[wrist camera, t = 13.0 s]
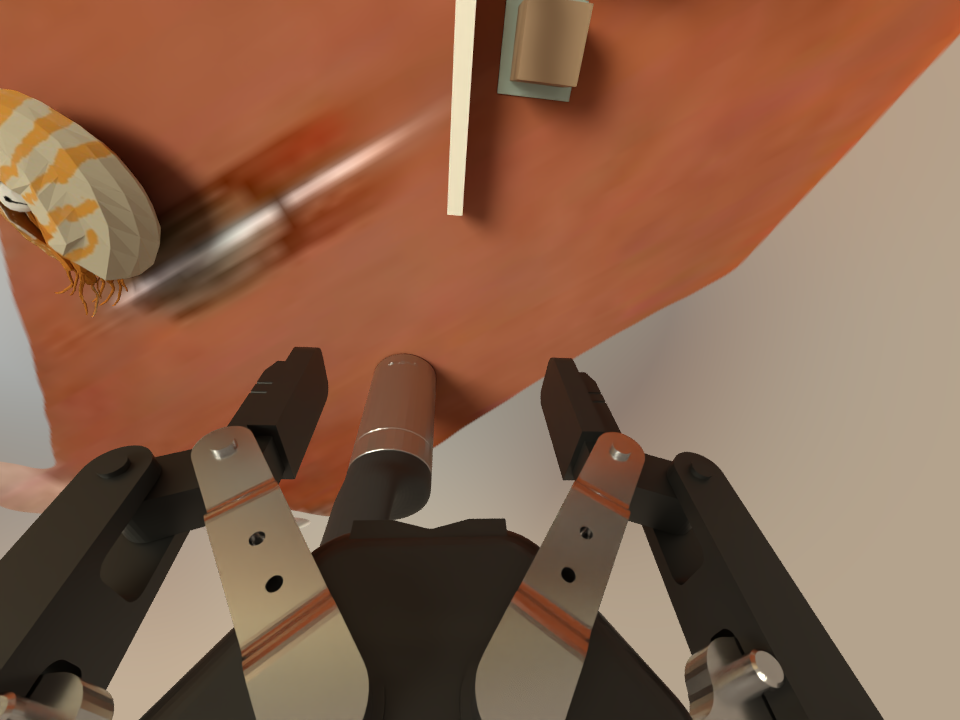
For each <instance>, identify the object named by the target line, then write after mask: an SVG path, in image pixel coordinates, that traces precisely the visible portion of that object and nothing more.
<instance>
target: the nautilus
mask: <svg viewBox="0 0 960 720" xmlns="http://www.w3.org/2000/svg"><path fill="white" fill-rule="evenodd" d="M0 214H1V215H2V216H3V217H4V218H5V219H6V220H7V221H9V222H10V223H11V224H12V225H13V226H14V227H15V228H16V229H17V230H18V231H19V232H20V233H21V234H22V235H23V236H24V238H25V239H26V240H28V241H30V242H31V243H33V244H35V245H36V246H38V247H39V248H40V249H42V250H43V251H44V252H45V253H47V254H48V255H49V256H51V257H53V258H55V259H57V260H58V261H60V263H61V264H62V266H63V267H64V269H65V270H66V272H67V275H68V278H69V280H70V281H71V285H70V286H68V287H67V288H66V289H64V290H63V291H61V292H55V293H56V294H60V293H64V292H65V291H67V290H69V289H70V288H72V287H73V285H74V289H73V291H72V293H71V294H70V295H73V293H74V292H75V291H76V286H77V282H78V279H79V278H80V285H79V293H80V299H81V300H82V302H83V304H84V306H85V310H86V315H87V314H88V310H87V304H86V302H85V301H84V299H83V287H84V284H85V283H86V284H88V285H91V288H92V290H93V291H94V292H95V293H96V299H95V300H94V301H96V303H95V311H94V313H93V316H91V317H94V316H95V314H96V312H97V306H98V302H99V297H101V294H102V291H103V289H104V286H105V281H107V282H108V283H110V285H111V287H112V291H111V293H110V295H109V296H108V298H107V299H106V301H104V302H103V303H102V304H100V305H103V304H105V303H106V302H107V301H108V300H109V299H110V298H111V296H112V295H113V293H114V291H115V287H114V284H113V281H114V280H115V279H117V281H118V284H119V292H118V299H117V301H116V302H115V304H114V305H116V304H117V303H118V301H119V300H120V296H121V291H122V286H123V285H124V286H123V287H125V289H126V291H127V292H128V289H127V287H126V286H125V284H124V281H123V279H125V278H131V277H134V276H137V275H140V274H142V273H143V272H144V271H145V270H147V269H148V268H149V267H151V266H152V265H153V264H154V262H155V258H156V255H157V252H158V249H159V245H160V232H161V227H160V224H159V221H158V219H157V216H156V213H155V210H154V207H153V205H152V203H151V201H150V199H149V197H148V196H147V194H146V192H145V190H144V188H143V187H142V185H141V184H140V183H139V181H138V180H137V179H136V177H135V176H134V175H133V174H132V172H131V171H130V170H129V169H128V168H127V166H126V165H125V164H124V163H123V162H122V160H121V159H120V158H119V157H118V156H117V155H116V154H115V153H114V152H113V151H112V150H111V149H110V148H108V147H107V146H106V145H105V144H104V143H103V142H101V141H100V140H99V139H97V138H96V137H94V136H93V135H91V134H90V133H88V132H87V131H86V130H85V129H83V128H82V127H81V126H80V125H78V124H76V123H75V122H73V121H72V120H70V119H68V118H67V117H65V116H63V115H62V114H60V113H59V112H57V111H55V110H54V109H52V108H50V107H49V106H47V105H45V104H44V103H42V102H40V101H38V100H36V99H34V98H31V97H29V96H27V95H24V94H22V93H20V92H17V91H15V90H8V89H1V88H0ZM75 269H76V270H75ZM70 271H74V272H75V273H76V279H75V283H74V281H73V279H72V277H71V273H70ZM78 274H79V275H78ZM96 276H97V277H99V278H98V280H97V278H96ZM99 279H100V280H101V281H102V287H101V289H100V291H99V289H98V282H99ZM119 279H120V280H119ZM96 282H97V290H98V292H99V294H98V292H97V291H96V289H95V287H94V284H95V283H96ZM120 282H121V283H120ZM121 284H122V285H121ZM101 298H102V297H101ZM94 301H92V302H94ZM114 305H112V306H114Z"/></svg>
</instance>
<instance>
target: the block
mask: <svg viewBox="0 0 960 720" xmlns="http://www.w3.org/2000/svg"><path fill="white" fill-rule="evenodd" d="M592 9H593V4H592V3H586V2H580V1H573V0H523V1H522V3H521V4H520V5H519V6H518V14H517V23H516V31H515V40H514V49H513V57H512V66H511V74H510V81H515V82H523V83H530V84H538V85H546V86H554V87H577V82H578V77H579V72H580V67H581V62H582V58H583V53H584V48H585V43H586V38H587V33H588V28H589V23H590V19H591V14H592Z"/></svg>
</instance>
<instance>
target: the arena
mask: <svg viewBox="0 0 960 720" xmlns="http://www.w3.org/2000/svg"><path fill="white" fill-rule="evenodd" d="M522 1H523V0H506V10H505V20H504V30H503V40H502V49H501V59H500V69H499V79H498V89H497V93H500V94H508V95H517V96H525V97H533V98H541V99H549V100H557V101H566V102H569V98H570V93H571V88H572V87H554V86H546V85H538V84H530V83H523V82H515V81H510V74H511V66H512V57H513V49H514V40H515V31H516V23H517V14H518V6H519V5H520V4H521V3H522ZM573 1H580V2H586V3H588V2H589V1H585V0H573ZM475 11H476V0H456V10H455V35H454V59H453V84H452V109H451V133H450V158H449V183H448V211H447V215H459V216H462V213H463V197H464V182H465V166H466V151H467V135H468V120H469V104H470V89H471V73H472V58H473V42H474V27H475Z"/></svg>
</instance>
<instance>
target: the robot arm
mask: <svg viewBox="0 0 960 720" xmlns="http://www.w3.org/2000/svg"><path fill="white" fill-rule="evenodd" d="M435 394H436V375H435V372H434V370H433V368H432V367H431V365H430V364H429V363H428V362H426V361H425V360H423V359H421V358H419V357H417V356H414V355H409V354H397V355H392V356H389V357H387V358H385V359H384V360H382V361H381V362H380V363H379V364H378V365H377V367H376V369H375V372H374V375H373V379H372V383H371V386H370V390H369V393H368V397H367V401H366V404H365V408H364V412H363V416H362V419H361V423H360V427H359V430H358V434H357V438H356V441H355V445H354V449H353V453H352V457H351V460H350V464H349V468H348V471H347V475H346V478H345V481H344V483H343V485H342V487H341V489H340V491H339V493H338V495H337V498H336V500H335V502H334V505H333V508H332V511H331V514H330V517H329V520H328V524H327V527H326V530H325V533H324V535H323V539H322V542H321V544H320V547H319V548H317V549H316V550H314V551H313V552H312V553H311V552H310V550H309V548H308V546H307V544H306V542H305V540H304V538H303V535H302V534H301V531H300V529H299V527H298V525H297V523H296V521H295V519H294V517H293V515H292V512H291V510H290V508H289V506H288V504H287V502H286V500H285V498H284V496H283V494H282V491H281V489H280V487H279V482H280V480H281V479H295V477H296V474H297V472H298V470H299V467H300V465H301V462H302V460H303V457H304V455H305V452H306V450H307V447H308V445H309V442H310V440H311V437H312V435H313V432H314V430H315V427H316V425H317V422H318V420H319V417H320V415H321V412H322V410H323V407H324V405H325V402H326V400H327V396H328V380H327V375H326V370H325V366H324V361H323V356H322V352H321V349H320V348H312V347H295V348H293V350H292V351H291V353H290V355H289V356H288V358H287V360H286V361H277V362H276V363H274V364H273V365H272V366H270V367H269V368H267V369H266V370H265V371H264V372H263V374H262V375H261V377H260V378H259V380H258V381H257V384H255V386H254V387H253V389H252V390H251V393H249V395H248V396H247V398H246V399H245V401H244V402H243V404H242V405H241V407H240V408H239V410H238V411H237V413H236V414H235V416H234V417H233V419H232V420H231V422H230V423H229V425H228V426H227V427H224V428H221V429H217V430H215V431H213V432H211V433H209V434H207V435H206V436H204V437H203V438H202V439H200V440H199V441H198V442H197V443H196V444H195V446H194V447H193V449H190V450H187V451H182V452H177V453H173V454H168V455H164V456H159V457H154V455H153V454H152V452H151V451H150V450H149V449H148V448H146V447H143V446H126V447H121V448H117V449H114V450H111V451H109V452H107V453H104V454H102V455H100V456H99V457H97V458H95V459H94V460H92V461H91V462H89V463H88V464H87V465H86V466H85V467H84V468H83V469H82V470H81V471H80V472H79V473H78V474H77V475H76V476H75V477H74V479H73V480H72V481H71V482H70V483H69V484H68V485H67V486H66V487H65V489H64V490H63V491H62V492H61V493H60V494H59V495H58V496H57V497H56V499H55V500H54V501H53V502H52V503H51V504H50V505H49V506H48V508H47V509H46V510H45V511H44V512H43V513H42V514H41V515H40V516H39V518H38V519H37V520H36V521H35V522H34V523H33V524H32V525H31V526H30V528H29V529H28V530H27V531H26V532H25V533H24V534H23V535H22V536H21V538H20V539H19V540H18V541H17V542H16V543H15V544H14V545H13V547H12V548H11V549H10V550H9V551H8V552H7V553H6V555H4V557H3V558H2V559H1V560H0V720H112V717H113V713H114V703H113V698H112V696H111V694H110V693H109V692H108V691H106V689H107V687H108V685H109V683H110V681H111V679H112V677H113V676H114V674H115V672H116V670H117V668H118V666H119V664H120V662H121V660H122V659H123V657H124V655H125V653H126V651H127V649H128V647H129V645H130V643H131V642H132V640H133V638H134V636H135V634H136V632H137V630H138V628H139V626H140V624H141V623H142V621H143V619H144V617H145V615H146V613H147V611H148V609H149V607H150V605H151V604H152V602H153V600H154V598H155V596H156V594H157V592H158V590H159V588H160V587H161V585H162V583H163V581H164V579H165V577H166V575H167V573H168V571H169V569H170V567H171V566H172V564H173V562H174V560H175V558H176V556H177V554H178V552H179V550H180V548H181V547H182V545H183V543H184V541H185V539H186V537H187V535H188V533H189V532H190V530H193V529H196V528H201V527H204V526H206V529H207V533H208V536H209V540H210V543H211V547H212V550H213V554H214V557H215V561H216V564H217V568H218V572H219V575H220V579H221V582H222V586H223V589H224V593H225V596H226V600H227V602H228V606H229V610H230V614H231V617H232V621H233V624H234V628H233V629H231V630H230V632H228V634H226V635H225V636H224V637H223V638H222V639H221V640H220V641H219V642H218V643H217V644H216V645H215V646H214V647H213V648H212V649H211V650H210V651H209V652H208V653H207V654H206V655H205V656H204V657H203V658H202V659H201V660H200V661H199V662H198V663H197V664H196V665H195V666H194V667H193V668H191V669H190V670H189V672H187V673H186V674H185V675H184V676H183V677H182V678H181V679H180V680H179V681H178V682H177V683H176V684H175V685H174V686H173V687H172V688H171V689H170V690H169V691H168V692H167V693H166V694H165V695H164V696H163V697H162V698H161V699H160V700H159V701H158V702H157V703H156V704H155V705H154V706H152V707H151V708H150V709H149V710H148V711H147V713H145V714H144V715H143V716H142V717H141V718H140V719H139V720H884V719H883V718H882V716H881V714H880V713H879V711H878V710H877V708H876V707H875V706H874V704H873V702H872V701H871V699H870V698H869V696H868V694H867V693H866V691H865V690H864V688H863V687H862V685H861V684H860V682H859V681H858V679H857V678H856V676H855V675H854V673H853V671H852V670H851V668H850V667H849V665H848V664H847V662H846V661H845V659H844V658H843V656H842V655H841V653H840V652H839V650H838V648H837V647H836V645H835V644H834V642H833V641H832V639H831V638H830V636H829V635H828V633H827V632H826V630H825V629H824V627H823V625H822V624H821V622H820V621H819V619H818V618H817V616H816V615H815V613H814V612H813V610H812V609H811V608H810V606H809V604H808V602H807V601H806V599H805V598H804V597H803V595H802V593H801V592H800V590H799V589H798V587H797V586H796V584H795V583H794V581H793V580H792V578H791V576H790V575H789V573H788V572H787V570H786V569H785V567H784V566H783V564H782V563H781V561H780V560H779V558H778V557H777V555H776V554H775V552H774V550H773V549H772V547H771V546H770V544H769V543H768V541H767V540H766V538H765V537H764V535H763V534H762V532H761V530H760V529H759V527H758V526H757V524H756V523H755V521H754V520H753V518H752V517H751V515H750V514H749V512H748V511H747V509H746V507H745V506H744V504H743V503H742V501H741V500H740V498H739V497H738V495H737V494H736V492H735V491H734V489H733V488H732V486H731V485H730V483H729V481H728V480H727V478H726V477H725V475H724V474H723V472H722V471H721V470H720V469H719V467H718V466H717V465H715V464H714V463H713V462H712V461H710V460H709V459H707V458H705V457H703V456H701V455H699V454H696V453H691V452H683V453H680V454H678V455H676V457H675V458H674V460H673V461H669V460H665V459H662V458H658V457H655V456H650V455H648V454H645V453H644V451H643V449H642V448H641V447H640V445H639V444H638V443H637V442H636V441H635V440H633V439H632V438H630V437H628V436H626V435H624V434H621V432H620V430H619V428H618V426H617V424H616V422H615V420H614V418H613V416H612V414H611V412H610V410H609V408H608V406H607V404H606V403H605V400H604V398H603V396H602V395H601V392H600V390H599V388H598V386H597V384H596V382H595V381H594V380H593V379H592V378H590V376H588V374H586V373H584V372H578V369H577V367H576V365H575V363H574V361H573V359H571V358H550V360H549V362H548V366H547V370H546V374H545V378H544V381H543V385H542V389H541V406H542V409H543V413H544V416H545V420H546V423H547V427H548V430H549V433H550V437H551V440H552V444H553V447H554V451H555V454H556V457H557V461H558V464H559V468H560V471H561V475H562V478H563V480H575V482H574V484H573V485H572V487H571V489H570V491H569V493H568V495H567V497H566V499H565V501H564V503H563V504H562V506H561V508H560V510H559V512H558V514H557V516H556V518H555V520H554V522H553V524H552V526H551V527H550V529H549V531H548V533H547V535H546V537H545V539H544V541H543V543H542V545H541V547H539V546H538V545H536V544H535V543H533V542H532V541H530V540H529V539H527V538H525V537H523V536H522V535H519V534H517V533H514V532H511V531H508V530H507V529H506V521H505V519H467V520H464V521H460V522H456V523H452V524H449V525H445V526H441V527H438V528H434V529H427V528H423V527H419V526H415V525H410V524H407V523H402V522H398V521H395V520H396V519H401V518H405V517H408V516H410V515H412V514H414V513H416V512H418V511H419V510H421V509H422V508H423V507H424V506H425V504H426V503H427V501H428V499H429V497H430V491H431V476H432V457H433V455H432V452H433V434H434V413H435ZM628 521H631V522H634V523H638V524H641V525H642V527H643V529H644V532H645V534H646V537H647V540H648V542H649V545H650V547H651V550H652V552H653V555H654V558H655V560H656V563H657V566H658V568H659V571H660V573H661V576H662V578H663V581H664V584H665V586H666V589H667V592H668V594H669V597H670V599H671V602H672V605H673V607H674V610H675V612H676V615H677V617H678V620H679V623H680V625H681V628H682V631H683V633H684V636H685V638H686V641H687V644H688V646H689V649H690V651H691V654H692V656H691V657H690V658H689V659H688V661H687V663H686V666H685V682H686V686H687V690H688V697H689V701H690V713H689V712H688V711H687V710H686V708H685V707H684V706H683V704H682V703H681V702H680V700H679V699H678V698H677V697H676V696H675V695H674V694H673V692H672V691H671V690H670V689H669V688H668V687H667V686H666V685H665V684H664V682H662V680H661V679H660V678H659V677H658V676H657V675H656V674H655V673H654V671H653V670H652V669H651V668H650V667H649V666H648V665H647V664H646V663H645V662H644V660H643V659H642V658H641V657H640V656H639V655H638V654H637V653H636V652H635V651H634V649H633V648H632V647H631V646H630V645H629V644H628V643H627V642H626V641H625V640H624V638H623V637H622V636H621V635H620V634H619V633H618V632H617V631H616V630H615V628H614V627H613V626H612V625H611V624H610V623H609V622H608V621H607V620H606V619H605V617H604V616H603V615H602V614H601V613H600V612H599V611H598V610H599V607H600V604H601V601H602V598H603V595H604V591H605V589H606V586H607V583H608V580H609V577H610V573H611V571H612V568H613V565H614V561H615V558H616V555H617V552H618V550H619V547H620V543H621V540H622V538H623V534H624V531H625V528H626V526H627V523H628Z"/></svg>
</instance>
